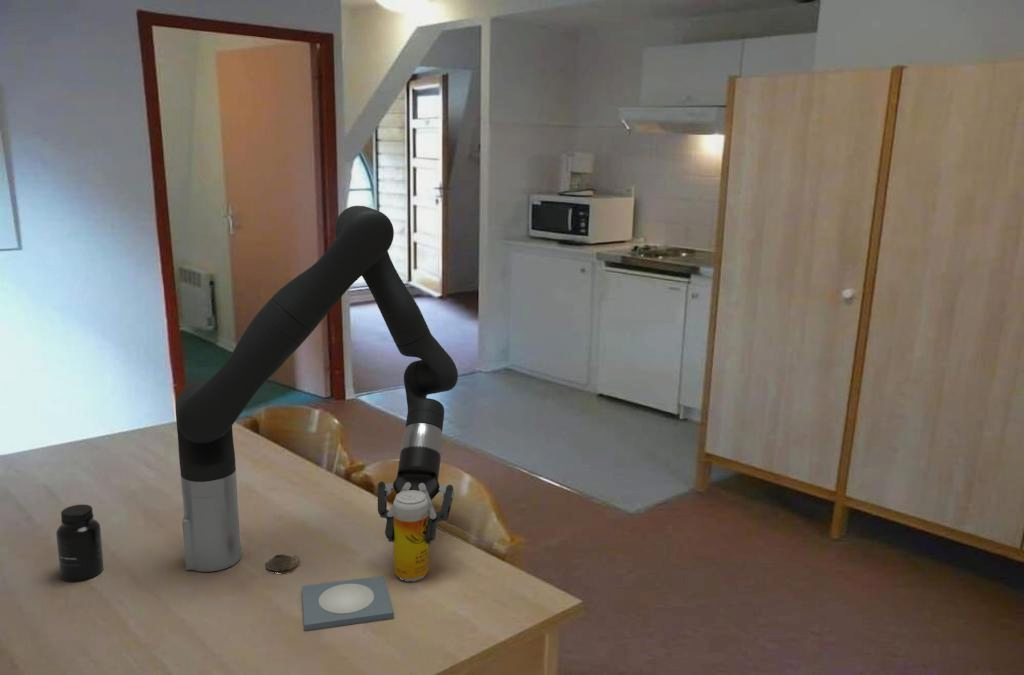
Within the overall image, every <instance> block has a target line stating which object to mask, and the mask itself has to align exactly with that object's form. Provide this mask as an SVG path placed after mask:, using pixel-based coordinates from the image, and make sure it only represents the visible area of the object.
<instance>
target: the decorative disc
mask: <svg viewBox="0 0 1024 675" xmlns="http://www.w3.org/2000/svg"><path fill="white" fill-rule="evenodd" d="M298 562H299V563H300V558H299V556H296V555H292V556H291V555H286V554H276V555H274V556H273V557H271V558H270V559H268V560H267V561H266V562H265V571H266V570H267V571H266V572H268V573H270V572H274V573H275V572H276V573H277V572H278V573H281V574H284V573H285V575H288V574H287V573H290V574H293V573H295V572H296V571H298V570H299V568H300V567H299V563H298ZM298 567H299V568H298ZM297 569H298V570H297ZM294 571H295V572H294ZM292 572H293V573H292ZM274 573H273V574H272V575H277V574H276V573H275V574H274Z"/></svg>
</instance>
